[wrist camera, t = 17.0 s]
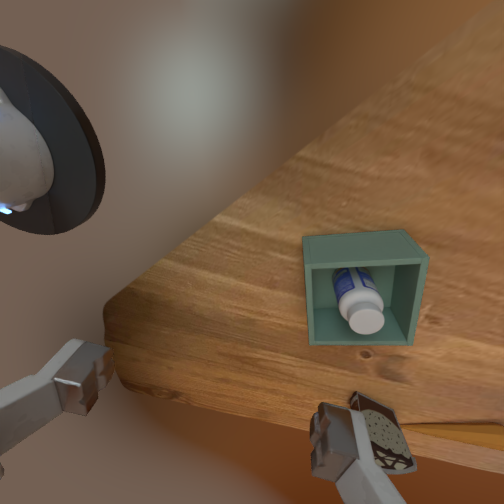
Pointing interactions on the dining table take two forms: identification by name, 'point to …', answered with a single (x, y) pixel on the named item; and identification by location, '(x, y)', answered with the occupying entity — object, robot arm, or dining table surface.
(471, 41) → the dining table surface
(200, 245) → the dining table surface
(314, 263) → the tub
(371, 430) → the food container
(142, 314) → the dining table surface
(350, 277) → the pill bottle
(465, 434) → the carrot
